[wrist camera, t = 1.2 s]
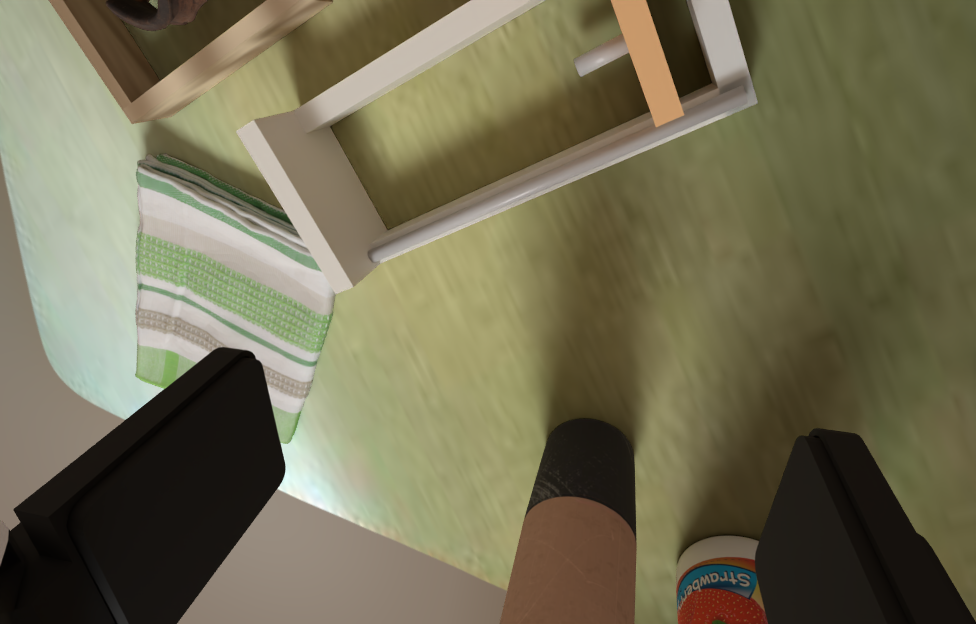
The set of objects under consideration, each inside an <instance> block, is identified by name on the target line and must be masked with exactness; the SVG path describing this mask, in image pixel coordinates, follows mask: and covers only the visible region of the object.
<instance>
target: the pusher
mask: <svg viewBox="0 0 976 624" xmlns="http://www.w3.org/2000/svg"><path fill="white" fill-rule="evenodd" d="M611 2H612V5H613V8H614V11H615V13H616V16H617V19H618V22H619V25H620V28H621V30H622V33H623V34H621V35H619V36H617V37H615V38H613V39H611V40H609V41H607V42H605V43H604V44H602V45H600V46H598V47H596V48H594V49H592V50H590V51H588V52H586V53H584V54H583V55H581V56H579V57H577V58H575V59H574V63H575V66H576V69H577V71H578V73H579V75H580V77H582V76H584V75H586V74H588V73H590V72H592V71H594V70H596V69H598V68H599V67H601V66H603V65H605V64H607V63H609V62H611V61H613V60H615V59H617V58H619V57H621V56H623V55H625V54H627V53H630V56H631V58H632V61H633V64H634V67H635V70H636V73H637V75H638V78H639V81H640V84H641V87H642V89H643V92H644V95H645V98H646V101H647V103H648V106H649V109H650V112H651V115H652V118H653V120H654V123H655V126H656V127H658V126H660V125H663V124H665V123H667V122H670V121H672V120H674V119H676V118H679V117H681V116H683V115H684V112H683V109H682V106H681V103H680V100H679V97H678V94H677V91H676V88H675V85H674V82H673V79H672V76H671V73H670V70H669V67H668V65H667V62H666V59H665V56H664V53H663V50H662V47H661V44H660V41H659V38H658V35H657V32H656V29H655V26H654V23H653V20H652V17H651V14H650V11H649V8H648V5H647V2H646V0H611Z"/></svg>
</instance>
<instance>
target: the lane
mask: <svg viewBox="0 0 976 624" xmlns="http://www.w3.org/2000/svg"><path fill="white" fill-rule="evenodd" d="M544 1H545V0H470V1H469V2H467V3H466V4H464V5H462V6H461V7H459V8H458V9H456V10H454V11H453V12H451V13H450V14H448V15H446V16H445V17H443V18H442V19H440V20H438V21H437V22H435V23H434V24H432V25H430V26H429V27H427V28H426V29H424V30H422V31H421V32H419V33H418V34H416V35H414V36H413V37H411V38H410V39H408V40H406V41H405V42H403V43H401V44H400V45H398V46H397V47H395V48H393V49H392V50H390V51H389V52H387V53H385V54H384V55H382V56H381V57H379V58H377V59H376V60H374V61H373V62H371V63H369V64H368V65H366V66H365V67H363V68H361V69H360V70H358V71H357V72H355V73H353V74H352V75H350V76H349V77H347V78H345V79H344V80H342V81H341V82H339V83H337V84H336V85H334V86H333V87H331V88H329V89H328V90H326V91H324V92H323V93H321V94H320V95H318V96H316V97H315V98H313V99H312V100H310V101H308V102H307V103H305V104H304V105H302V106H300V107H299V108H297V109H296V110H294V111H291V112H286V113H282V114H277V115H273V116H268V117H264V118H259V119H255V120H253V121H251V122H249V123H248V124H246V125H245V126H243V127H242V128H240V129H239V130H237V131H236V132H237V134H238V136H239V137H240V139H241V141H242V142H243V144H244V145H245V147H246V149H247V150H248V152H249V154H250V155H251V157H252V159H253V160H254V162H255V163H256V165H257V167H258V168H259V170H260V172H261V173H262V175H263V176H264V178H265V180H266V181H267V183H268V185H269V186H270V188H271V190H272V191H273V193H274V194H275V196H276V198H277V199H278V201H279V203H280V204H281V206H282V207H283V209H284V211H285V212H286V214H287V216H288V217H289V219H290V221H291V222H292V224H293V225H294V227H295V229H296V230H297V232H298V234H299V235H300V237H301V238H302V240H303V242H304V243H305V245H306V247H307V248H308V250H309V252H310V253H311V255H312V256H313V258H314V260H315V261H316V263H317V265H318V266H319V268H320V269H321V271H322V273H323V274H324V276H325V278H326V279H327V281H328V283H329V284H330V286H331V287H332V289H333V291H334V292H335V294H337V293H340V292H342V291H345V290H347V289H350V288H352V287H354V286H355V285H356V284H357V283H359V282H360V281H361V280H362V279H363V278H364V277H365V276H367V275H368V274H369V273H370V272H371V271H372V270H373V269H375V268H376V267H377V266H378V265H379V264H380V263H383V262H385V261H387V260H390V259H392V258H394V257H397V256H399V255H401V254H404V253H406V252H408V251H411V250H413V249H416V248H418V247H420V246H423V245H425V244H427V243H430V242H432V241H434V240H437V239H439V238H441V237H444V236H446V235H448V234H451V233H453V232H456V231H458V230H460V229H463V228H465V227H467V226H470V225H472V224H474V223H477V222H479V221H481V220H484V219H486V218H489V217H491V216H493V215H496V214H498V213H500V212H503V211H505V210H507V209H510V208H512V207H514V206H517V205H519V204H521V203H524V202H526V201H529V200H531V199H533V198H536V197H538V196H540V195H543V194H545V193H547V192H550V191H552V190H554V189H557V188H559V187H562V186H564V185H566V184H569V183H571V182H573V181H576V180H578V179H580V178H583V177H585V176H587V175H590V174H592V173H594V172H597V171H599V170H602V169H604V168H606V167H609V166H611V165H613V164H616V163H618V162H620V161H623V160H625V159H627V158H630V157H632V156H634V155H637V154H639V153H642V152H644V151H646V150H649V149H651V148H653V147H656V146H658V145H660V144H663V143H665V142H667V141H670V140H672V139H675V138H677V137H679V136H682V135H684V134H686V133H689V132H691V131H693V130H696V129H698V128H700V127H703V126H705V125H707V124H710V123H712V122H715V121H717V120H719V119H722V118H724V117H726V116H729V115H731V114H733V113H736V112H738V111H740V110H743V109H745V108H748V107H750V106H752V105H755V104H757V103H758V102H757V98H756V95H755V91H754V88H753V84H752V81H751V77H750V74H749V70H748V67H747V64H746V60H745V57H744V53H743V50H742V46H741V43H740V39H739V36H738V32H737V29H736V25H735V22H734V19H733V15H732V12H731V8H730V5H729V1H728V0H686V2H687V5H688V8H689V11H690V14H691V17H692V21H693V24H694V27H695V30H696V33H697V37H698V40H699V43H700V46H701V49H702V53H703V56H704V59H705V62H706V65H707V69H708V72H709V75H710V78H711V81H712V84H709V85H707V86H705V87H703V88H701V89H698V90H696V91H694V92H692V93H690V94H687V95H685V96H683V97H681V98H679V100H680V103H681V106H682V109H683V112H684V115H683V116H681V117H679V118H676V119H674V120H672V121H670V122H667V123H665V124H663V125H660V126H658V127H656V126H655V123H654V120H653V118H652V115H651V112H648V113H645V114H643V115H641V116H639V117H637V118H634V119H632V120H630V121H628V122H626V123H623V124H621V125H619V126H617V127H615V128H612V129H610V130H608V131H606V132H604V133H601V134H599V135H597V136H595V137H592V138H590V139H588V140H586V141H584V142H581V143H579V144H577V145H575V146H573V147H570V148H568V149H566V150H564V151H562V152H559V153H557V154H555V155H553V156H551V157H548V158H546V159H544V160H542V161H540V162H537V163H535V164H533V165H531V166H529V167H526V168H524V169H522V170H520V171H517V172H515V173H513V174H511V175H509V176H506V177H504V178H502V179H500V180H498V181H495V182H493V183H491V184H489V185H487V186H484V187H482V188H480V189H478V190H476V191H473V192H471V193H469V194H467V195H465V196H462V197H460V198H458V199H456V200H454V201H451V202H449V203H447V204H445V205H442V206H440V207H438V208H436V209H434V210H431V211H429V212H427V213H425V214H423V215H420V216H418V217H416V218H414V219H412V220H409V221H407V222H405V223H403V224H401V225H398V226H396V227H394V228H392V229H390V230H387V229H386V227H385V225H384V223H383V222H382V220H381V218H380V216H379V214H378V212H377V211H376V209H375V207H374V205H373V203H372V202H371V200H370V198H369V196H368V194H367V193H366V191H365V189H364V187H363V185H362V184H361V182H360V180H359V178H358V176H357V175H356V173H355V171H354V169H353V167H352V166H351V164H350V162H349V160H348V158H347V156H346V155H345V153H344V151H343V149H342V147H341V146H340V144H339V142H338V140H337V138H336V137H335V135H334V133H333V131H332V129H331V128H330V126H331V125H333V124H335V123H337V122H338V121H340V120H342V119H343V118H345V117H347V116H349V115H350V114H352V113H354V112H355V111H357V110H359V109H361V108H362V107H364V106H366V105H367V104H369V103H371V102H373V101H374V100H376V99H378V98H379V97H381V96H383V95H384V94H386V93H388V92H390V91H391V90H393V89H395V88H396V87H398V86H400V85H402V84H403V83H405V82H407V81H408V80H410V79H412V78H414V77H415V76H417V75H419V74H420V73H422V72H424V71H426V70H427V69H429V68H431V67H432V66H434V65H436V64H438V63H439V62H441V61H443V60H444V59H446V58H448V57H449V56H451V55H453V54H455V53H456V52H458V51H460V50H461V49H463V48H465V47H467V46H468V45H470V44H472V43H473V42H475V41H477V40H479V39H480V38H482V37H484V36H485V35H487V34H489V33H491V32H492V31H494V30H496V29H497V28H499V27H501V26H502V25H504V24H506V23H508V22H509V21H511V20H513V19H514V18H516V17H518V16H520V15H521V14H523V13H525V12H526V11H528V10H530V9H532V8H533V7H535V6H537V5H538V4H540V3H542V2H544Z"/></svg>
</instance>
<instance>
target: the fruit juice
mask: <svg viewBox="0 0 976 624" xmlns="http://www.w3.org/2000/svg"><path fill="white" fill-rule="evenodd" d="M758 543H759V541H757V540H754V539H750V538H746V537H740V536H716V537H710V538H706V539H703V540H701V541H698V542H696V543H694V544H693V545H691V546H690V547H688V548H687V549H686V550H685V551H684V552H683V554H682V555H681V557H680V559H679V561H678V564H677V569H676V593H677V611H678V624H768V622H767V618H766V614H765V609H764V605H763V601H762V597H761V593H760V589H759V585H758V580H757V576H756V571H755V553H756V549H757V546H758Z"/></svg>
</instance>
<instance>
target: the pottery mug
mask: <svg viewBox="0 0 976 624" xmlns="http://www.w3.org/2000/svg"><path fill="white" fill-rule="evenodd" d="M149 1H150V0H108V1H106V6H107V7H108V8H109V9H110V10H111V11H112V12H113V14H114V15H116V16H117V17H118V18H120V19H122V20H123V21H125V22H127V23H129V24H131V25H133V26H135V27H138V28H140V29H144V30H147V31H156V30H161V29H164V28H166V27H167V25H169V24H173V25H185V24H188V22H192V21H193V20H194V19H195V17H196V14H197V12H198V10H199V9H200V8H201V6H202V5H203V4H204V3H205V2H207V1H208V0H158V9H156V8H155V7H154V6H152V5H151V4H150V3H149Z"/></svg>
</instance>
